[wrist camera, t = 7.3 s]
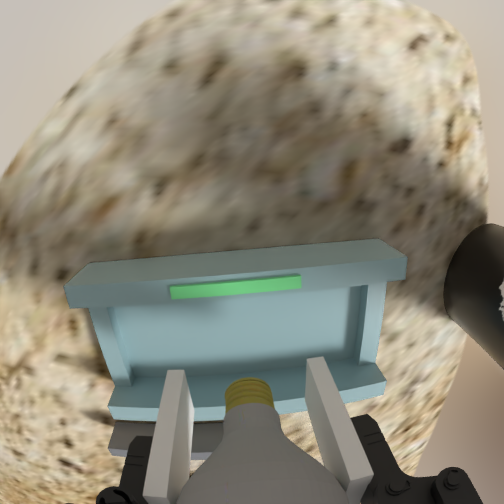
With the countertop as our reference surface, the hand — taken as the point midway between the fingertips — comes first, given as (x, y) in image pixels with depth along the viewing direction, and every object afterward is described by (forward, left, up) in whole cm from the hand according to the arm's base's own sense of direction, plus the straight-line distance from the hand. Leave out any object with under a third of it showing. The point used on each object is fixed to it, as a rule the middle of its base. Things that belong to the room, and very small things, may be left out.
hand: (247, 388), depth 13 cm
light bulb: (0, 0, -1) cm, 1 cm away
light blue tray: (0, 0, -6) cm, 6 cm away
